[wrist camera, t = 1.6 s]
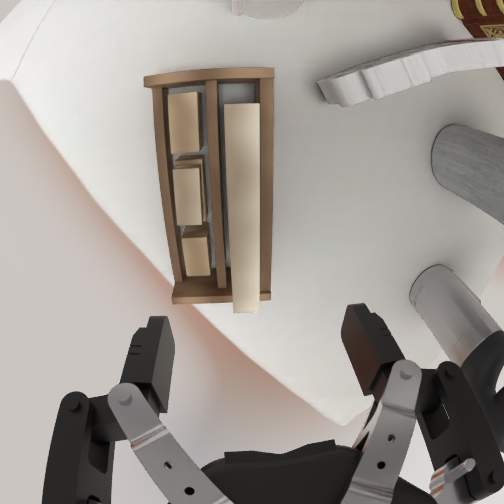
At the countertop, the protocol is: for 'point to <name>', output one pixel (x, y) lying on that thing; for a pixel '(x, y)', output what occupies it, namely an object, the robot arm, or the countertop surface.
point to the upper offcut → (188, 194)
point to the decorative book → (482, 18)
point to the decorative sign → (410, 69)
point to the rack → (214, 178)
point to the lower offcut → (200, 160)
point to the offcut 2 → (197, 249)
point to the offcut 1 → (185, 122)
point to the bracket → (265, 8)
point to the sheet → (243, 202)
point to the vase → (471, 167)
